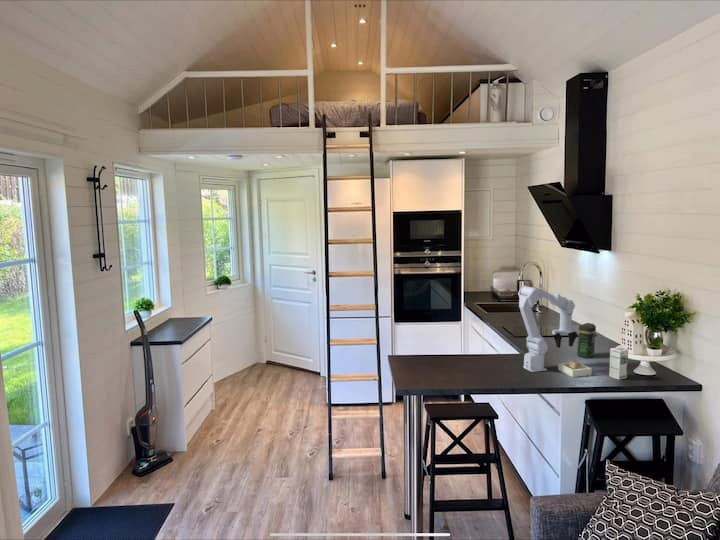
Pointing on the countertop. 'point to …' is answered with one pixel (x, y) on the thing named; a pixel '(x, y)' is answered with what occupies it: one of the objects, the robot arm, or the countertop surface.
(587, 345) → the coffee jar
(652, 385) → the countertop surface
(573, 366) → the beech block
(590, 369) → the white tub
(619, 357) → the syrup box
